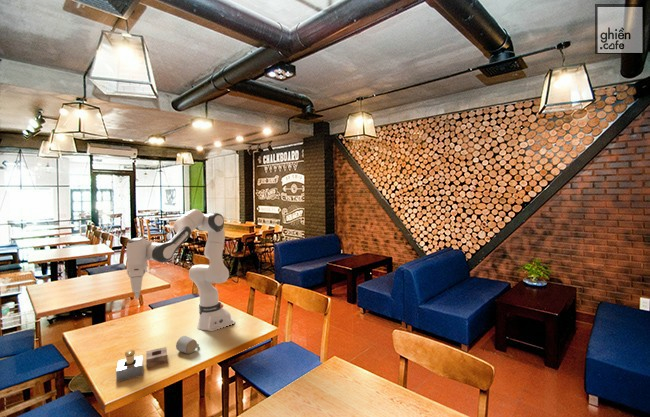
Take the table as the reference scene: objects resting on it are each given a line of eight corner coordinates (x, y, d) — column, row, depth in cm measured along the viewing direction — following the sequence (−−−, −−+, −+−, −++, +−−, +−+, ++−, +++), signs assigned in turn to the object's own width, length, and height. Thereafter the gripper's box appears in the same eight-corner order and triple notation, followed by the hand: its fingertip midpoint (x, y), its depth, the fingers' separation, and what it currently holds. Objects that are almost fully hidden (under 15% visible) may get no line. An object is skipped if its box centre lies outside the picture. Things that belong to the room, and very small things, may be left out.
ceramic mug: (186, 356, 157) (186, 342, 157) (175, 353, 161) (175, 338, 161) (202, 347, 167) (202, 334, 167) (192, 344, 170) (192, 331, 170)
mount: (166, 354, 160) (166, 346, 159) (167, 362, 152) (167, 354, 152) (146, 358, 155) (146, 351, 155) (146, 367, 147) (146, 359, 147)
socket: (142, 364, 150) (142, 355, 149) (142, 375, 141) (142, 365, 141) (118, 370, 145) (118, 360, 144) (116, 382, 136) (116, 371, 136)
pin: (135, 370, 145) (134, 349, 145) (135, 374, 142) (134, 353, 142) (125, 372, 143) (125, 351, 143) (125, 376, 140) (124, 355, 140)
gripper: (130, 265, 165) (131, 290, 166) (128, 274, 147) (129, 302, 148) (144, 264, 168) (144, 289, 169) (143, 273, 150) (144, 300, 151)
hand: (137, 295), depth 158 cm, fingers open, 8 cm apart
